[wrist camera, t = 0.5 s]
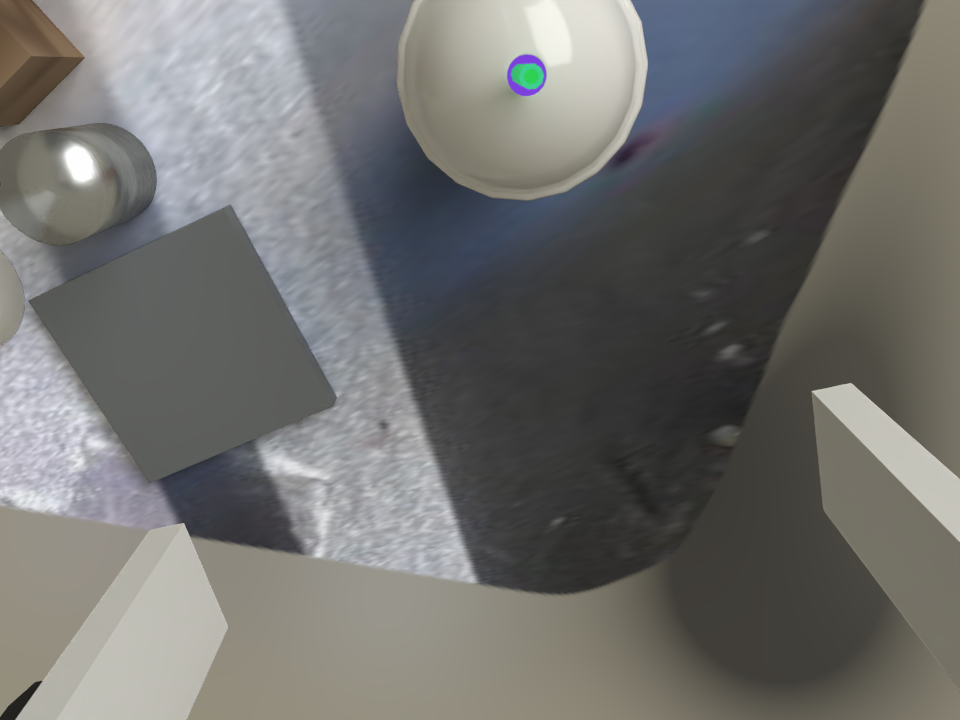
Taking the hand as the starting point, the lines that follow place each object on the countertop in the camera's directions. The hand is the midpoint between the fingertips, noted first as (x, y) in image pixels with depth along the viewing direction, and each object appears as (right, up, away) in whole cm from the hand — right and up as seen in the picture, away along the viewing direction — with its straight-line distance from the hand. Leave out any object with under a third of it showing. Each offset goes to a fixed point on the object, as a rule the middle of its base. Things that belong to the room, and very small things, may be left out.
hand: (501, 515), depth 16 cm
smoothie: (+1, +18, +23) cm, 29 cm away
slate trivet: (-17, +4, +28) cm, 33 cm away
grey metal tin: (-20, +13, +25) cm, 34 cm away
